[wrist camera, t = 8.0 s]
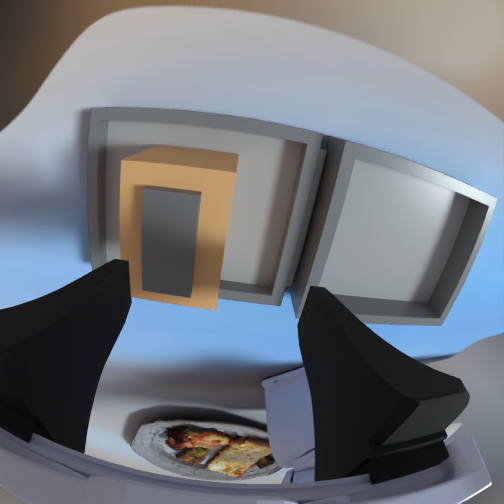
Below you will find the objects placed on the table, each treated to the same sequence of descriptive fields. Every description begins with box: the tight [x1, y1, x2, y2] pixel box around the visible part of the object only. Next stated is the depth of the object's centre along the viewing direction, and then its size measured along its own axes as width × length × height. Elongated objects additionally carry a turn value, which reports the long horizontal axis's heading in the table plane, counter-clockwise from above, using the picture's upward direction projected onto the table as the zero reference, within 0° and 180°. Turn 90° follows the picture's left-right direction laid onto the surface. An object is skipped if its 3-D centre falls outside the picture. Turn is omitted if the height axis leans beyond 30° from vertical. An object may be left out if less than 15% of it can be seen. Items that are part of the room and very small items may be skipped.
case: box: [290, 136, 497, 326], centre depth 19 cm, size 14×12×3 cm
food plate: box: [130, 418, 282, 481], centre depth 34 cm, size 25×23×4 cm
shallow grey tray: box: [87, 107, 327, 306], centre depth 18 cm, size 15×12×2 cm
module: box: [120, 145, 239, 310], centre depth 15 cm, size 5×7×7 cm
